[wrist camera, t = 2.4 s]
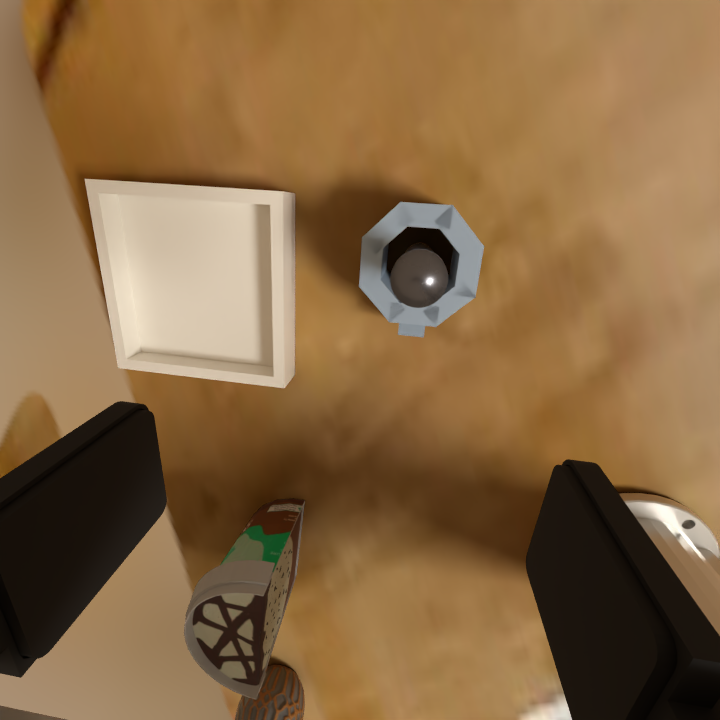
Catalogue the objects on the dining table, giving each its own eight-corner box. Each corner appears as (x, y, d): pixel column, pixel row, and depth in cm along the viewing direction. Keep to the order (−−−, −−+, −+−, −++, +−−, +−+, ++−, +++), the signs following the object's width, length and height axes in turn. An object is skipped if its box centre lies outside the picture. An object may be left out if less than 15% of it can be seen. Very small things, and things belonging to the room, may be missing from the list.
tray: (295, 193, 25) (282, 191, 23) (294, 374, 30) (284, 388, 28) (113, 181, 27) (84, 178, 25) (140, 356, 32) (118, 367, 29)
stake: (441, 239, 25) (452, 252, 17) (436, 279, 26) (443, 310, 18) (401, 236, 25) (393, 247, 17) (397, 276, 26) (387, 305, 18)
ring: (479, 208, 24) (491, 207, 20) (459, 327, 27) (466, 348, 23) (373, 201, 25) (364, 198, 21) (365, 317, 28) (355, 336, 24)
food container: (239, 472, 34) (172, 567, 25) (306, 486, 34) (263, 589, 25) (236, 571, 39) (179, 683, 30) (295, 585, 39) (255, 704, 29)
